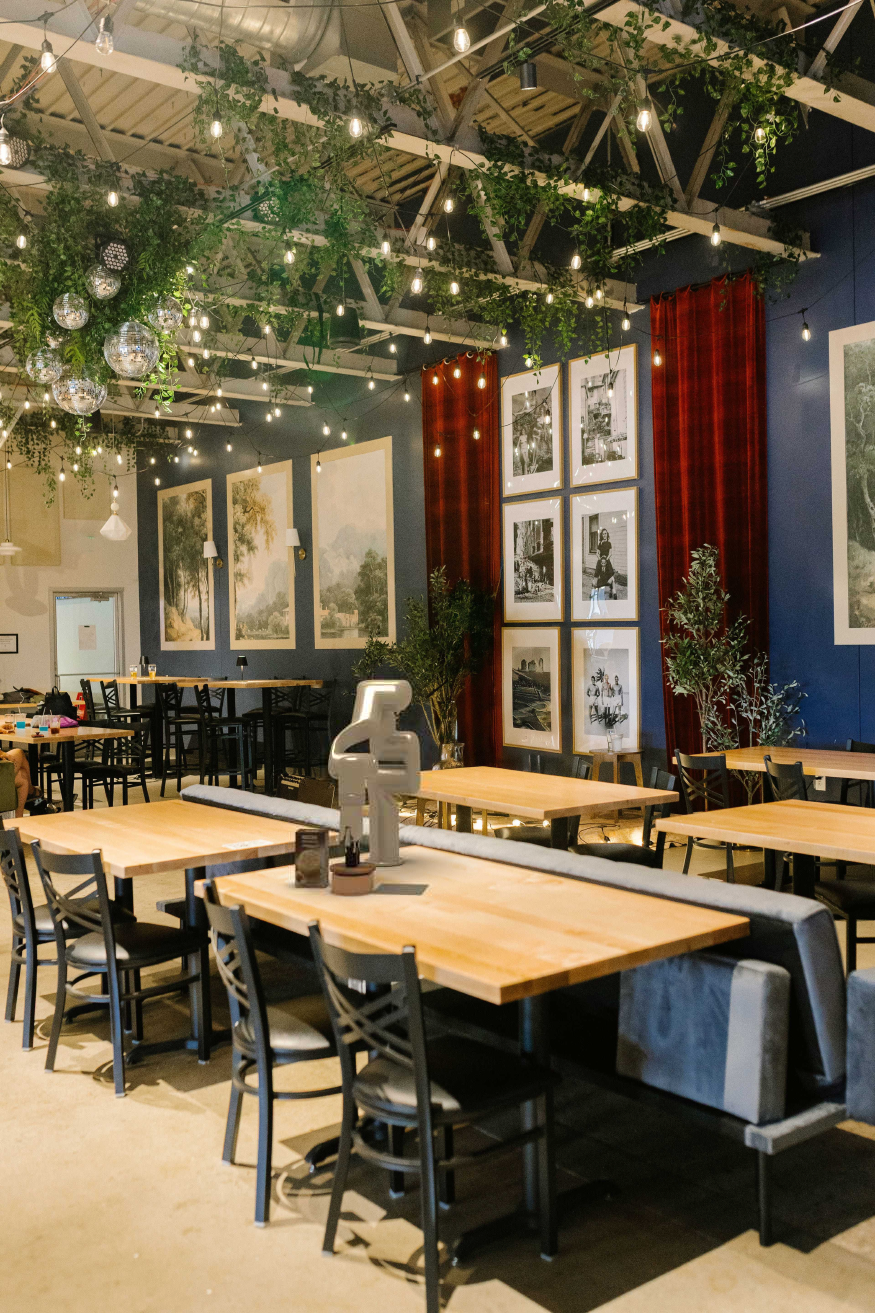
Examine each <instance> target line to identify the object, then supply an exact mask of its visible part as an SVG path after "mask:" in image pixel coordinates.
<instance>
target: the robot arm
mask: <svg viewBox="0 0 875 1313" xmlns="http://www.w3.org/2000/svg"><path fill="white" fill-rule="evenodd" d="M412 696H413V690H412V686H411V684H410V682H409V681H408V680H405V679H369V680H363V681H360V682H359V683H358V684H357V686H356V697H355V702H354V707H353V713H352V718H351V723H349V724H348V725H347V726H346V727H345V728H344V729H342V730H341V731H340V733H338V735H337V736H335V738H334V739H333V741H332V744H331V747H330V751H329V758H328V765H327V770H328V774H329V775H330V777H331V778H333V779H335V780H338V806H339V807H340V810H339V826H338V827H339V831H338V840H339V842H341V843H343V842H344V846H345V847H344V849H345V850H344V851H345V853H344V855H345V858H344V859H345V860H344V862H345V866H346V867H357V853H355V852H356V848H358V865H359V864H360V862H361V851H360V849H361V848H360V847H361V846H360V840H361V839H362V838H363V836H364V835H363V834H364V814H363V812H364V810H363V807H365V806H366V789H367V795H368V796H367V797H368V807H369V808H368V815H369V816H368V817H369V821H368V822H369V825H368V826H369V832H368V833H369V835H368V836H369V840H368V841H369V857H367V858H365V859H364V862H368V863H373V864H375V865H376V867H392V866H393V867H394V866H400V865H403V864H404V863H405V859H404V858H403V857H401V856H400V811H399V810H400V809H399V806H398V804H397V802H396V801H395V799H394V798H393V795H400V796H401V795H405V796H406V795H409V796H411V795H415V794H417V793H418V792H419V791H420V789H421V758H420V757H421V749H420V748H421V747H420V742H419V741H420V740H419V738H418V735H417V734H416V733H415V732H414V731H410V730H408V731H407V730H401V731H400V730H397V728H396V715H395V713H394V712H401V711H403V710H404V709H406V708H407V707H408V706H409V705H410V703H411V702H412V701H411V700H412V698H413V697H412ZM368 739H369V751H370V752H369V753H366V752H365V753H363V752H361V753H360V752H359V753H357V752H345V751H346V750H347V749H348V748H350V747H352V746H354V745H356V744H358V743H361V742H363V741H366V740H368ZM379 761H381V762H383V761H384V762H385V761H386V762H403V763H404V764H379Z"/></svg>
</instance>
